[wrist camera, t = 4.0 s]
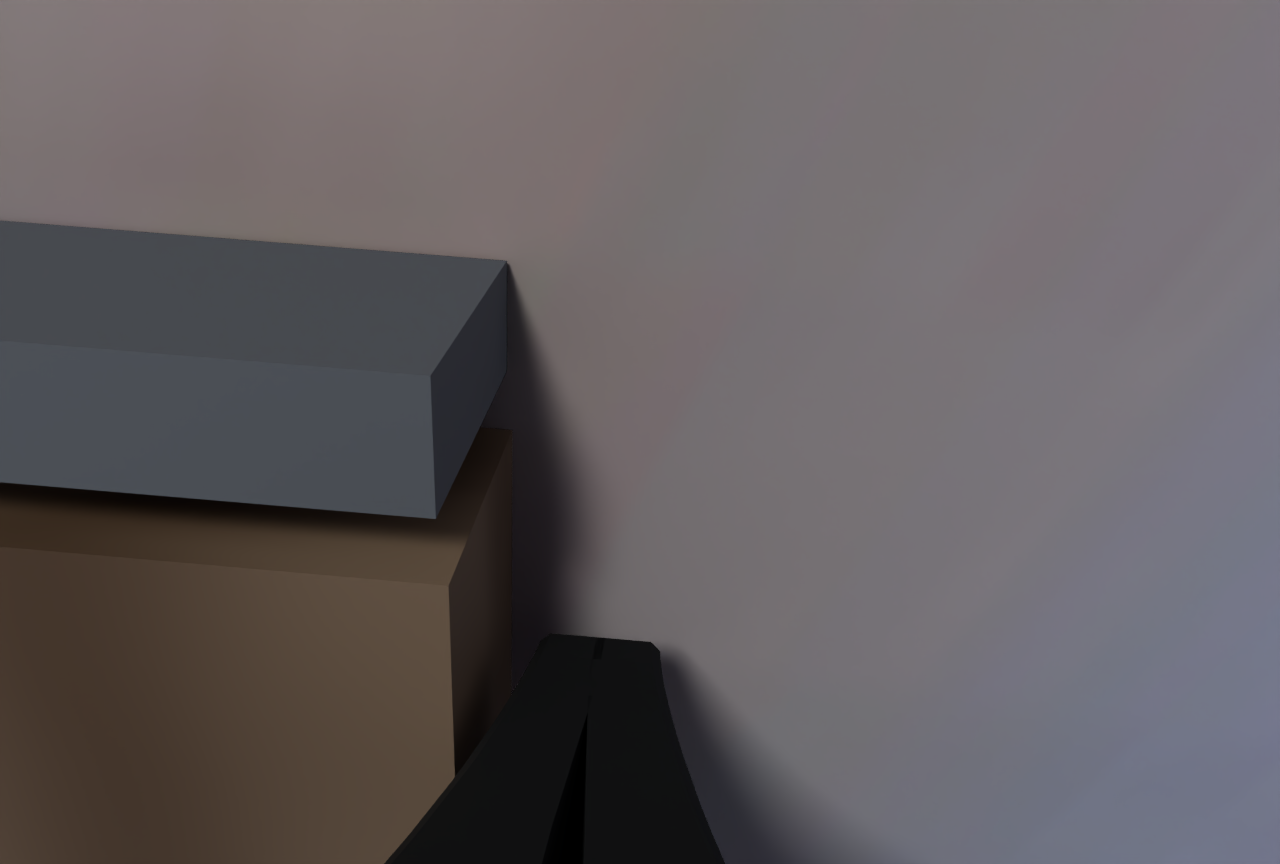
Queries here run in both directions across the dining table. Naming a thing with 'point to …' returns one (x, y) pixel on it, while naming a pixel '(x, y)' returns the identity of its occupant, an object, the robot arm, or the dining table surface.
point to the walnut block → (244, 670)
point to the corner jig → (244, 367)
